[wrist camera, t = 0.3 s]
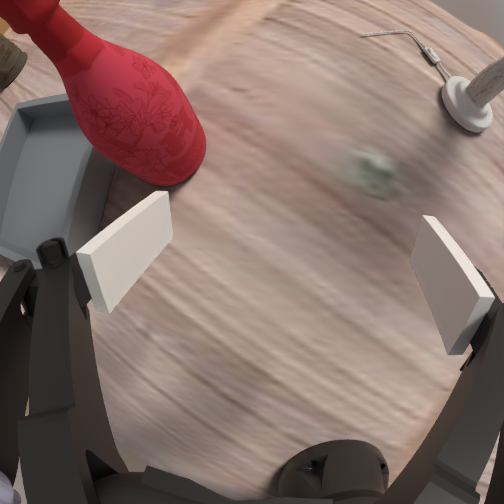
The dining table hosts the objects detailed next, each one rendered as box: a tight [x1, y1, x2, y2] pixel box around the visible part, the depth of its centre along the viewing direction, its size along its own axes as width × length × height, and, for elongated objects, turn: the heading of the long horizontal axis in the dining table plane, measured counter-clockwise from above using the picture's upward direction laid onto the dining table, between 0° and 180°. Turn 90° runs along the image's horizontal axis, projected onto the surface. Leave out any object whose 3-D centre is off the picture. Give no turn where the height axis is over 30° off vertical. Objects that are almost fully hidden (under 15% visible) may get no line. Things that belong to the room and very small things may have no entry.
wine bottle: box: [0, 0, 206, 186], centre depth 19 cm, size 10×10×30 cm
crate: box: [0, 94, 117, 269], centre depth 32 cm, size 24×24×6 cm
